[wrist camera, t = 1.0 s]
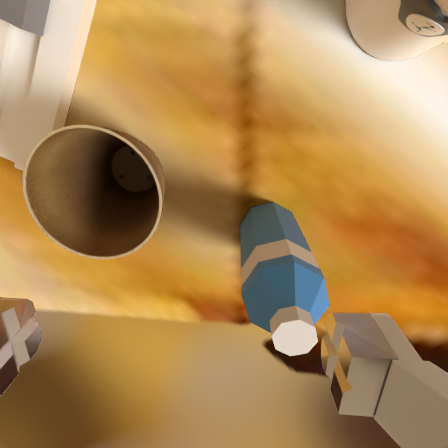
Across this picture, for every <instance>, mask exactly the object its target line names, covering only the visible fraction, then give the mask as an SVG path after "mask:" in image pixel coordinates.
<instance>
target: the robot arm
mask: <svg viewBox="0 0 448 448" xmlns="http://www.w3.org/2000/svg"><path fill="white" fill-rule="evenodd" d="M346 17H347V22H348V26H349V29H350V31H351V34H352V36H353V38H354V39H355V41H356V42H357V44H358V45H359V46H360V47H361V48H362V49H363V50H364V51H365V52H367V53H368V54H369V55H371V56H373V57H375V58H378V59H381V60H385V61H402V60H407V59H410V58H413V57H416V56H418V55H420V54H422V53H424V52H425V51H427V50H429V49H430V48H432V47H434V46H436V45H438V44H443V43H448V0H346ZM35 312H36V311H35V308H34V305H33V302H32V301H30V300H28V299H18V298H3V297H0V396H1V395H2V394H3V393H4V392H5V390H6V389H7V388H8V387H9V385H10V384H11V383H12V382H13V380H14V379H15V378H16V377H17V375H18V374H19V366H20V365H22V364H24V363H25V362H27V361H29V360H30V359H31V358H32V356H33V355H34V354H35V352H36V351H37V348H38V346H39V343H40V341H41V330H40V326H39V324H38V323H37V322H36V321H35V320H34V319H33V318H32V317H33V315H34V313H35ZM325 325H326V328H327V330H328V333H327V334H325V335H324V336H323V338H322V345H321V358H322V363H323V367H324V371H325V374H326V375H327V376H328V377H329V378H330V379H332V383H331V388H330V390H331V393H332V396H333V399H334V402H335V405H336V408H337V411H338V414H346V415H359V416H371V417H375V418H374V419H375V420H376V421H377V422H378V423H379V424H380V425H381V427H382V428H383V429H384V430H385V431H386V432H387V433H388V434H389V435H390V436H391V437H392V438H393V439H394V440H395V442H396V443H397V444H398V445H399V446H400V447H401V448H448V373H447V372H445V371H444V370H442V369H440V368H439V367H437V366H436V365H434V364H433V363H431V362H430V361H422V359H421V358H420V356H419V355H418V354H417V352H416V351H415V349H414V348H413V347H412V345H411V344H410V342H409V341H408V340H407V338H406V337H405V335H404V334H403V332H402V331H401V330H400V328H399V327H398V325H397V324H396V323H395V321H394V320H393V318H392V317H391V316H390V315H389V314H387V313H345V312H329V313H328V315H327V317H326V322H325Z"/></svg>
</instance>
